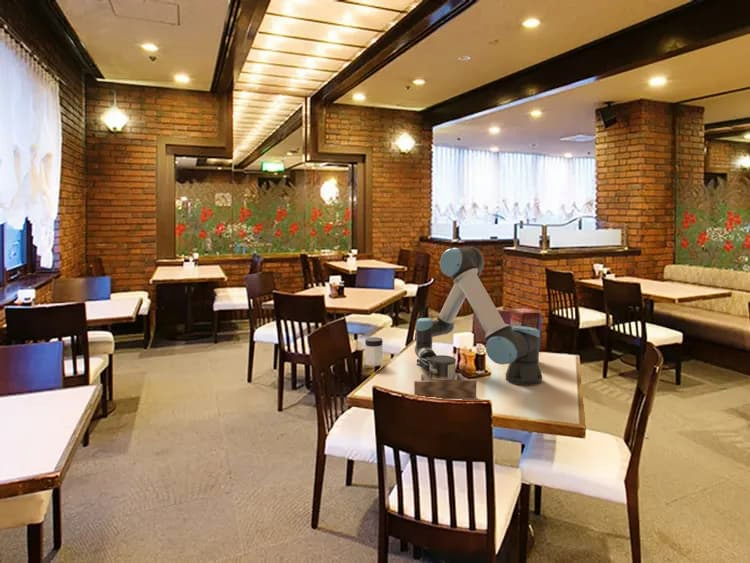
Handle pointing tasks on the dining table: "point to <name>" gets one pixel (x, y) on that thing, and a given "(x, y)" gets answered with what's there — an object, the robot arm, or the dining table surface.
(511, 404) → the dining table surface
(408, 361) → the dining table surface
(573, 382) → the dining table surface
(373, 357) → the jar
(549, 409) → the dining table surface
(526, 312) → the food packaging
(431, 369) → the coffee can
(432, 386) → the walnut dock
